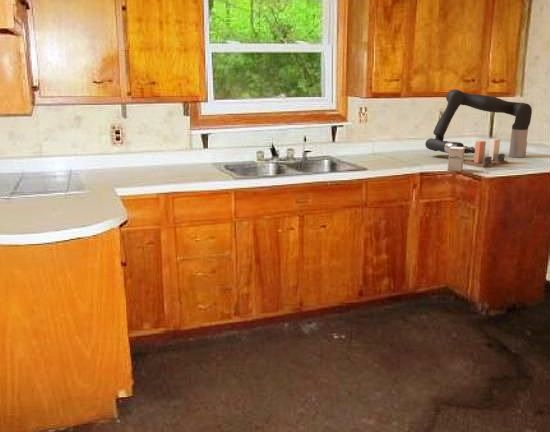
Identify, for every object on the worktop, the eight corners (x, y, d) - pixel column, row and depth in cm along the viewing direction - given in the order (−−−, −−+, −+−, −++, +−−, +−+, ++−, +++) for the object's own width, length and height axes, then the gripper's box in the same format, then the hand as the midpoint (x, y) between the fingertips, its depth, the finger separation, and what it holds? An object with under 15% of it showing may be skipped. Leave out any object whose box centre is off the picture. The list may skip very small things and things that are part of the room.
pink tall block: (479, 161, 313) (481, 140, 309) (483, 161, 310) (485, 141, 307) (473, 162, 310) (475, 141, 307) (478, 162, 308) (480, 142, 304)
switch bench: (488, 160, 326) (489, 151, 324) (507, 163, 315) (508, 154, 313) (463, 163, 315) (464, 154, 313) (483, 167, 304) (483, 157, 302)
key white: (493, 158, 320) (495, 138, 317) (498, 159, 318) (500, 139, 315) (488, 159, 318) (490, 139, 315) (492, 160, 315) (494, 139, 312)
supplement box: (447, 170, 297) (448, 147, 293) (449, 168, 303) (451, 146, 300) (460, 171, 294) (462, 148, 290) (463, 169, 300) (465, 146, 296)
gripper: (447, 142, 320) (470, 146, 306) (462, 141, 326) (485, 144, 312) (446, 155, 322) (469, 159, 308) (460, 153, 329) (484, 157, 314)
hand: (477, 152), depth 310 cm, fingers closed
